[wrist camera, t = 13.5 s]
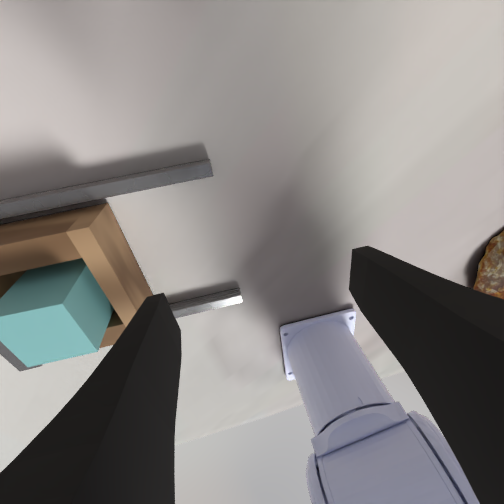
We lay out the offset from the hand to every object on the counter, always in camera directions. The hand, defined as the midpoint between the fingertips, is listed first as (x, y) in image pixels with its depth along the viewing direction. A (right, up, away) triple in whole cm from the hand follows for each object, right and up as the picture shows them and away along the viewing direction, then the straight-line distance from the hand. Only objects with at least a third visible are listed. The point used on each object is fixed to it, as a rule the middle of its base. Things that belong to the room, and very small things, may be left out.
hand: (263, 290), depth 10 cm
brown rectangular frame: (-13, 0, +9) cm, 16 cm away
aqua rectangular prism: (-13, 0, +9) cm, 16 cm away
